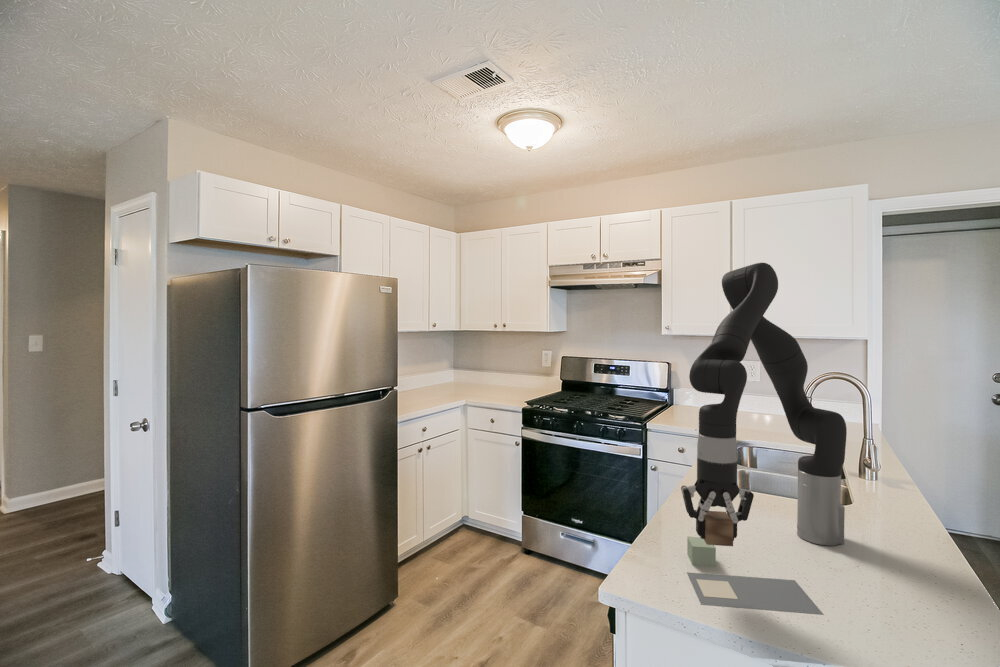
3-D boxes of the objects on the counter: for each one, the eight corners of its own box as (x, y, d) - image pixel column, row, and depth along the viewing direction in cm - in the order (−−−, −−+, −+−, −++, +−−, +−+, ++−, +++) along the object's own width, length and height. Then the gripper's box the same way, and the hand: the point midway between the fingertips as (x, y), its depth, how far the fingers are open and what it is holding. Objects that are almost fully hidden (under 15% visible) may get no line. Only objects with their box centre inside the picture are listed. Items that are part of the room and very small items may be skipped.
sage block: (709, 558, 112) (709, 537, 112) (715, 569, 108) (715, 547, 107) (687, 557, 113) (687, 536, 113) (692, 567, 108) (692, 546, 108)
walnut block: (725, 535, 100) (725, 511, 100) (733, 546, 95) (733, 521, 95) (700, 533, 101) (700, 510, 101) (706, 544, 96) (707, 520, 96)
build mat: (794, 582, 102) (794, 579, 102) (823, 617, 90) (823, 613, 90) (686, 575, 105) (686, 571, 105) (701, 607, 93) (701, 603, 93)
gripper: (747, 452, 100) (746, 532, 101) (676, 450, 103) (676, 528, 103) (761, 463, 93) (760, 549, 94) (684, 460, 95) (683, 544, 96)
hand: (716, 537), depth 98 cm, fingers closed on walnut block, 5 cm apart
